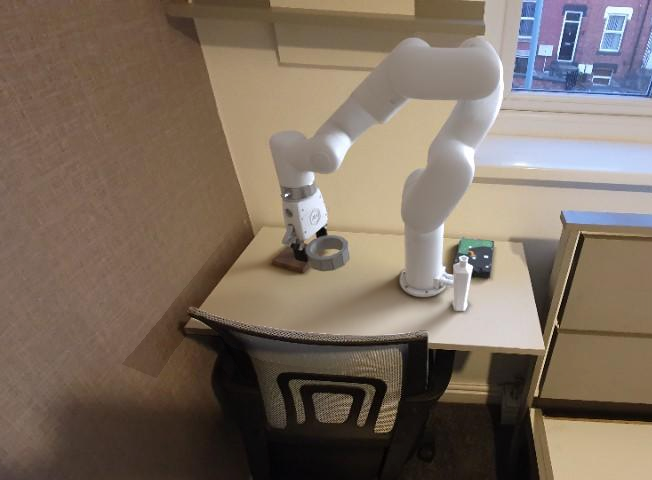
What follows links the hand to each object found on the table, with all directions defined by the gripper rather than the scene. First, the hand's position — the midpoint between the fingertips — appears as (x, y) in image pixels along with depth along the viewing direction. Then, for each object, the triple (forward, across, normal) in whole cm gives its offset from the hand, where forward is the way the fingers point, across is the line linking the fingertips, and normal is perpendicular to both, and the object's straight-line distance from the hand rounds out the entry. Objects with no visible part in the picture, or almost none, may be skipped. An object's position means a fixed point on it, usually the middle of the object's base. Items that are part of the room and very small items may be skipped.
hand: (312, 250), depth 99 cm
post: (+10, +6, +10) cm, 15 cm away
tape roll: (+1, 0, -4) cm, 5 cm away
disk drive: (+11, +24, -36) cm, 44 cm away
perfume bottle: (+11, +5, -38) cm, 39 cm away
